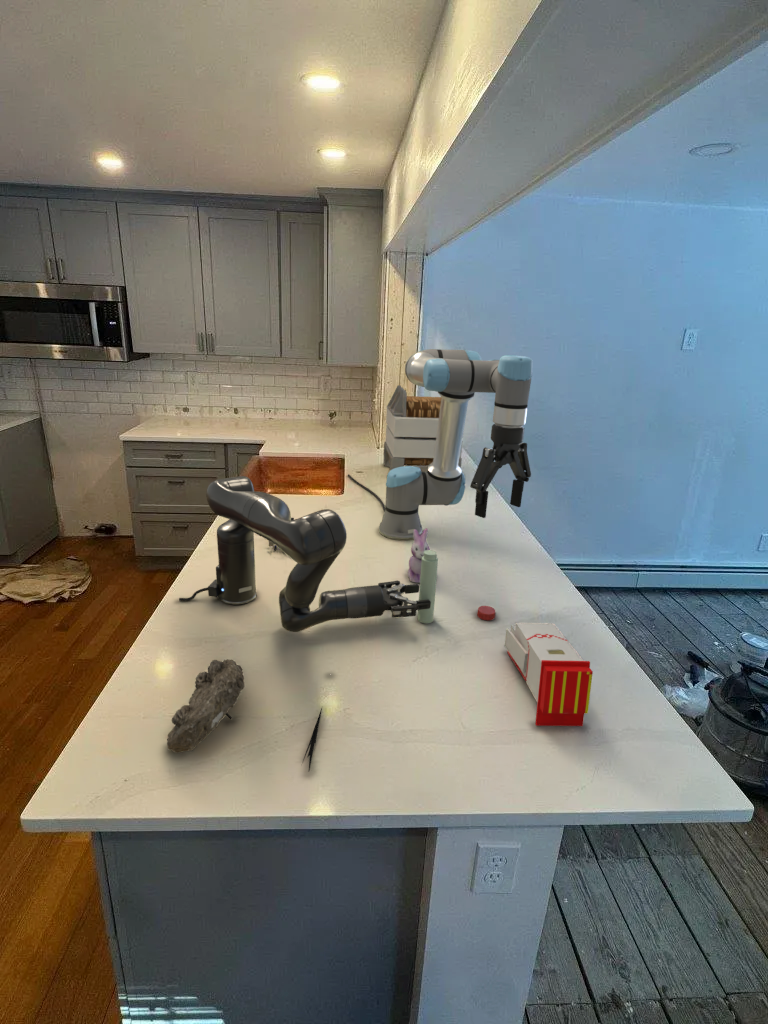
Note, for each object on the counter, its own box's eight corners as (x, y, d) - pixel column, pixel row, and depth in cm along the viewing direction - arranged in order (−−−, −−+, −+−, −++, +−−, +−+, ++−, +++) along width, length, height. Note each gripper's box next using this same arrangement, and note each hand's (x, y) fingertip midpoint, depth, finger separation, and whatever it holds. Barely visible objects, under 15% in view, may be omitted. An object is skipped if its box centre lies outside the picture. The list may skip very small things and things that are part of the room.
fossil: (192, 660, 117) (244, 628, 112) (224, 691, 120) (276, 661, 115) (142, 746, 98) (202, 712, 93) (182, 779, 101) (242, 748, 96)
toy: (550, 607, 134) (601, 667, 105) (545, 659, 137) (594, 732, 108) (499, 606, 134) (537, 666, 104) (495, 659, 137) (530, 731, 107)
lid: (484, 622, 146) (484, 615, 145) (473, 613, 149) (474, 607, 149) (498, 618, 148) (499, 612, 147) (487, 610, 151) (488, 604, 151)
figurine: (415, 586, 162) (419, 538, 157) (398, 572, 170) (401, 525, 165) (443, 581, 166) (447, 533, 161) (425, 567, 175) (428, 521, 170)
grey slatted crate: (382, 463, 289) (386, 382, 275) (445, 464, 293) (451, 384, 279) (390, 482, 257) (394, 392, 243) (460, 483, 261) (468, 394, 247)
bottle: (433, 616, 147) (438, 549, 141) (433, 624, 144) (438, 556, 137) (417, 614, 148) (422, 548, 141) (417, 622, 144) (422, 555, 137)
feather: (331, 679, 122) (336, 673, 122) (307, 777, 96) (313, 769, 95) (324, 675, 122) (329, 669, 121) (298, 772, 95) (304, 764, 95)
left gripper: (370, 602, 131) (435, 595, 136) (355, 575, 144) (415, 570, 149) (369, 630, 134) (433, 623, 138) (354, 601, 147) (414, 595, 151)
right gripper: (527, 417, 142) (516, 497, 149) (460, 427, 126) (452, 516, 134) (553, 422, 137) (540, 505, 144) (486, 433, 121) (476, 525, 128)
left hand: (424, 595), depth 143 cm, fingers open, 8 cm apart
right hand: (498, 510), depth 139 cm, fingers open, 13 cm apart
